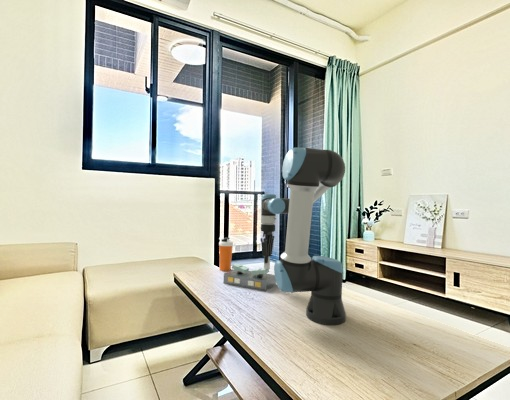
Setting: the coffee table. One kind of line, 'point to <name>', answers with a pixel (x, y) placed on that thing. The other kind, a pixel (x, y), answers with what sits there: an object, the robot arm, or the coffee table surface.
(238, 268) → the switch
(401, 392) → the coffee table surface
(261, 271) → the switch
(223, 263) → the shaker bottle
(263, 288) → the console
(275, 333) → the coffee table surface
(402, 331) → the coffee table surface
